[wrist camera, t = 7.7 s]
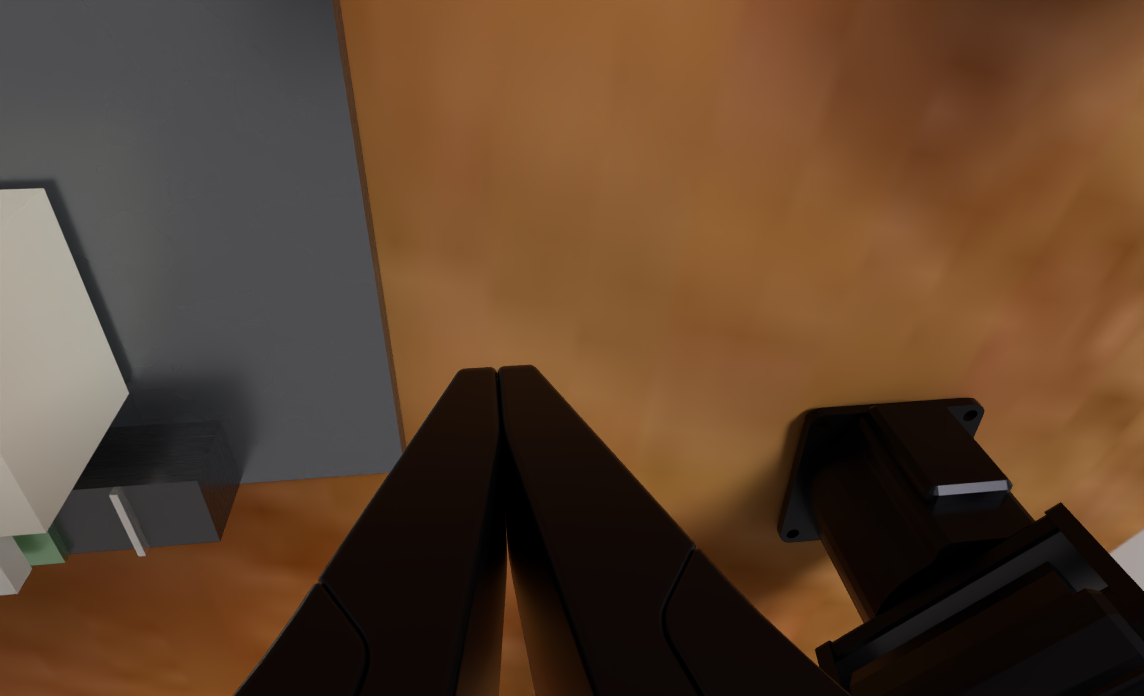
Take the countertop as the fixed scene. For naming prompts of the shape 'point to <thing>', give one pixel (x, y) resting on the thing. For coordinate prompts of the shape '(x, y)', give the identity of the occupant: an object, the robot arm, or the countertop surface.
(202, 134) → the gauge bench
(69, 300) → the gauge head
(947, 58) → the countertop surface
